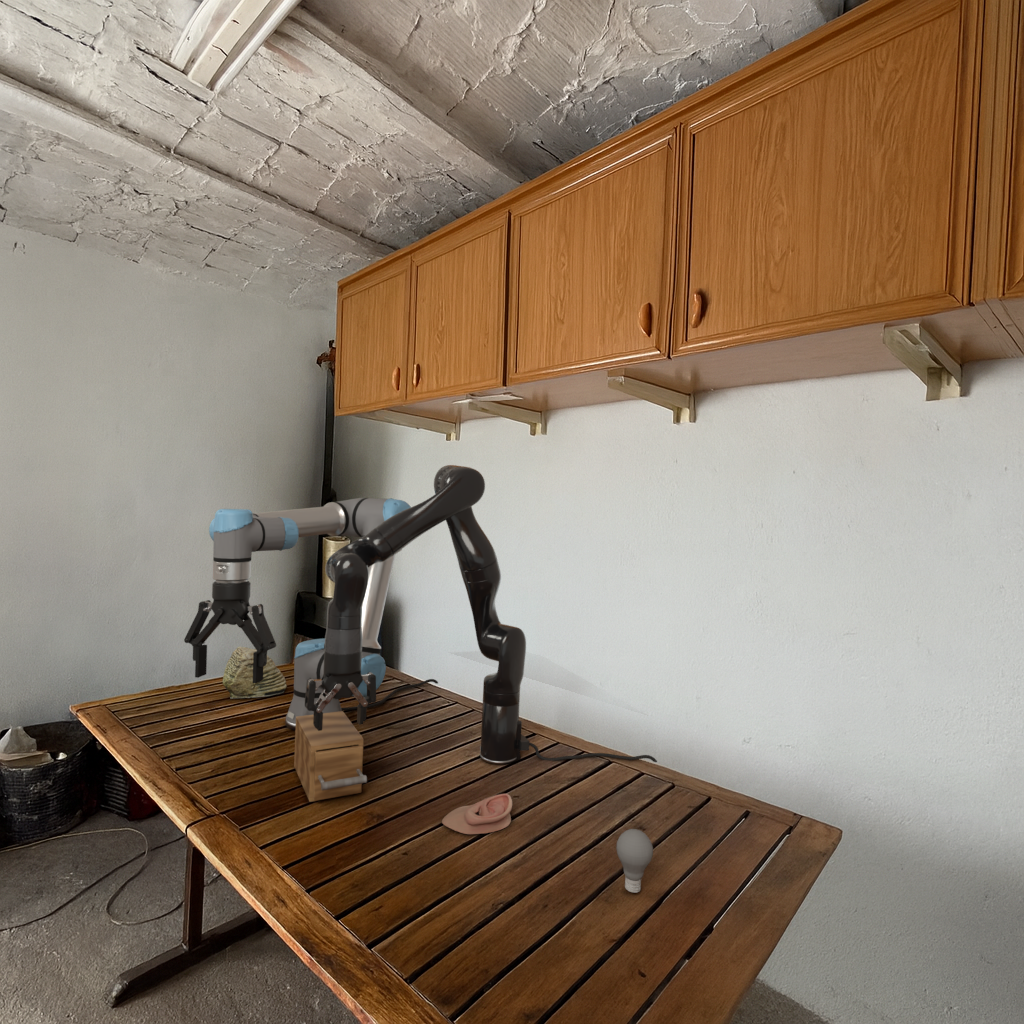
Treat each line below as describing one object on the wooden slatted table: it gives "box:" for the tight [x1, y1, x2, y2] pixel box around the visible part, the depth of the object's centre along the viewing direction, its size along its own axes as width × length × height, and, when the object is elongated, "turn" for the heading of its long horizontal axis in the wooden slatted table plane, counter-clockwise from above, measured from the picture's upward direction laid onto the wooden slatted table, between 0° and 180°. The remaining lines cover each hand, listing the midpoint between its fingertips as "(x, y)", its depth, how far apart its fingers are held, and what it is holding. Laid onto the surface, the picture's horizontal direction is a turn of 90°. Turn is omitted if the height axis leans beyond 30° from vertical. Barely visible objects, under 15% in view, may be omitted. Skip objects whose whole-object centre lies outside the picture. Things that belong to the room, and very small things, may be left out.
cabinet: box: [293, 711, 365, 803], centre depth 142 cm, size 19×11×12 cm, turn 28°
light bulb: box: [615, 828, 654, 894], centre depth 106 cm, size 6×6×10 cm
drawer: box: [313, 745, 368, 801], centre depth 138 cm, size 23×10×10 cm, turn 28°
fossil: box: [222, 646, 288, 699], centre depth 198 cm, size 9×18×15 cm, turn 132°
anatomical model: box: [441, 793, 513, 835], centre depth 126 cm, size 13×4×12 cm
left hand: (229, 678), depth 137 cm, fingers open, 13 cm apart
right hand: (340, 726), depth 131 cm, fingers open, 8 cm apart
